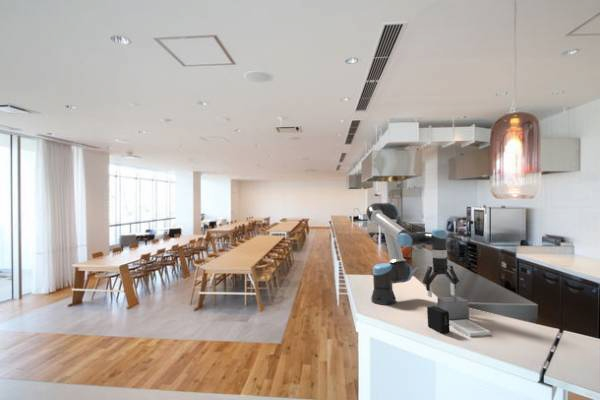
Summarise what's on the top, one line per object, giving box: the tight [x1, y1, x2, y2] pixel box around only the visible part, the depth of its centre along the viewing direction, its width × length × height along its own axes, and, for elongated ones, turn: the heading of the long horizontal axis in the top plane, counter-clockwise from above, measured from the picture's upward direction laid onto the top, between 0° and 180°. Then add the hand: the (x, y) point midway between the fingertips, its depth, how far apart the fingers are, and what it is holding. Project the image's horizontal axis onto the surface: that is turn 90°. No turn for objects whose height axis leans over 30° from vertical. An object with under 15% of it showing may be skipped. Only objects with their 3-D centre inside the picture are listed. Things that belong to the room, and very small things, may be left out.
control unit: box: [437, 295, 473, 322], centre depth 159 cm, size 10×14×11 cm
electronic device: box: [426, 305, 450, 335], centre depth 146 cm, size 4×10×10 cm, turn 15°
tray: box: [449, 319, 491, 338], centre depth 146 cm, size 16×10×2 cm, turn 7°
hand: (441, 295), depth 169 cm, fingers open, 13 cm apart
